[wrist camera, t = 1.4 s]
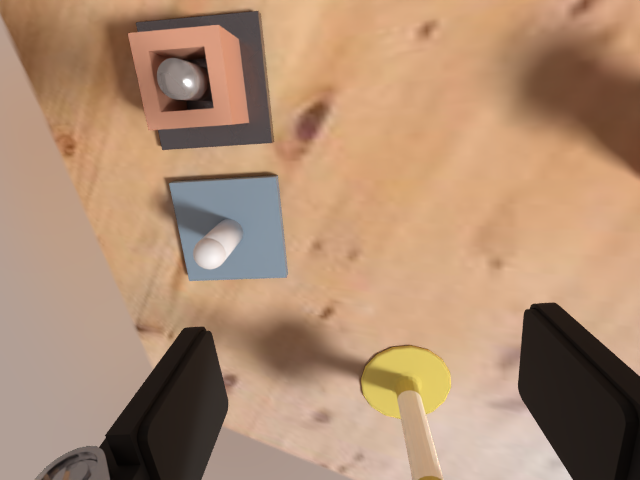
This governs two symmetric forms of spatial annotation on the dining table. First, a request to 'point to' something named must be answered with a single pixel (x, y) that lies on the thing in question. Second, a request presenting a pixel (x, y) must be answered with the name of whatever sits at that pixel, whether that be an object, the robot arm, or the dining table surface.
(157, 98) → the collar
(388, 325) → the dining table surface
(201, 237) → the blue peg base
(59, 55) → the dining table surface
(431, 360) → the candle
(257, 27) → the stand
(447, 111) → the dining table surface
